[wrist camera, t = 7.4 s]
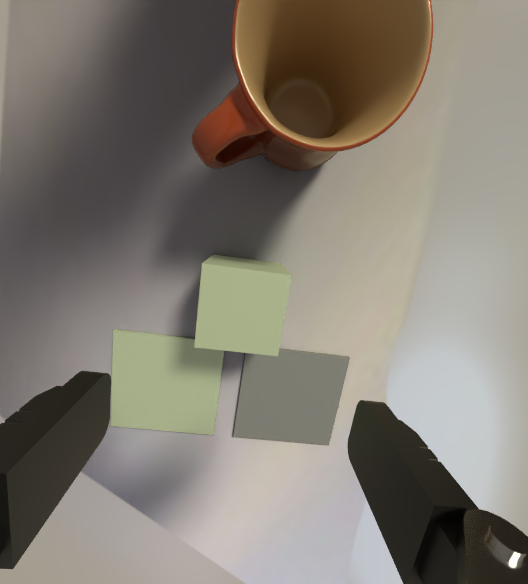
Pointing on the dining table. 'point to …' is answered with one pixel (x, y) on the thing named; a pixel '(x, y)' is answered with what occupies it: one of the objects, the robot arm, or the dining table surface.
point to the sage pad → (164, 383)
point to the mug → (316, 79)
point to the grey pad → (290, 396)
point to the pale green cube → (241, 305)
